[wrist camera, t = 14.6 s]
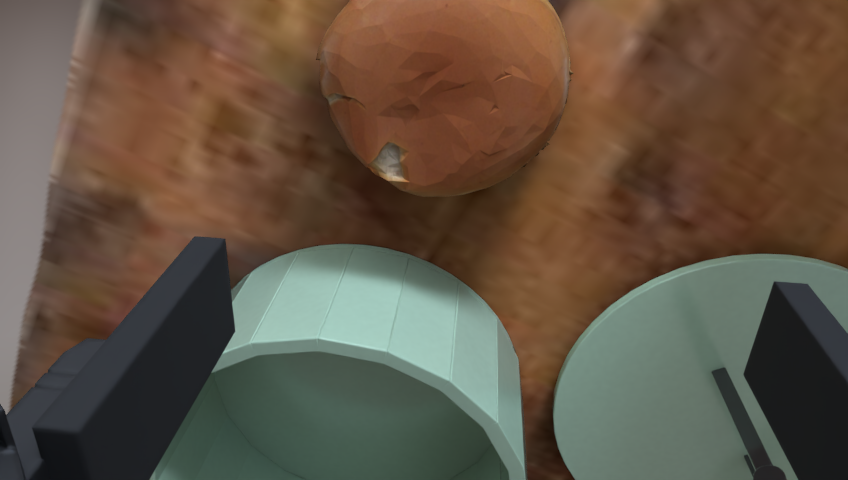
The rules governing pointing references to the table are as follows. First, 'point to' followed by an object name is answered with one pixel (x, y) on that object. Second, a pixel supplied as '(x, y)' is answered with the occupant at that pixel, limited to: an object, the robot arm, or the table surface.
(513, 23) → the burger
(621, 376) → the lid
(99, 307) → the table surface
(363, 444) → the pot
